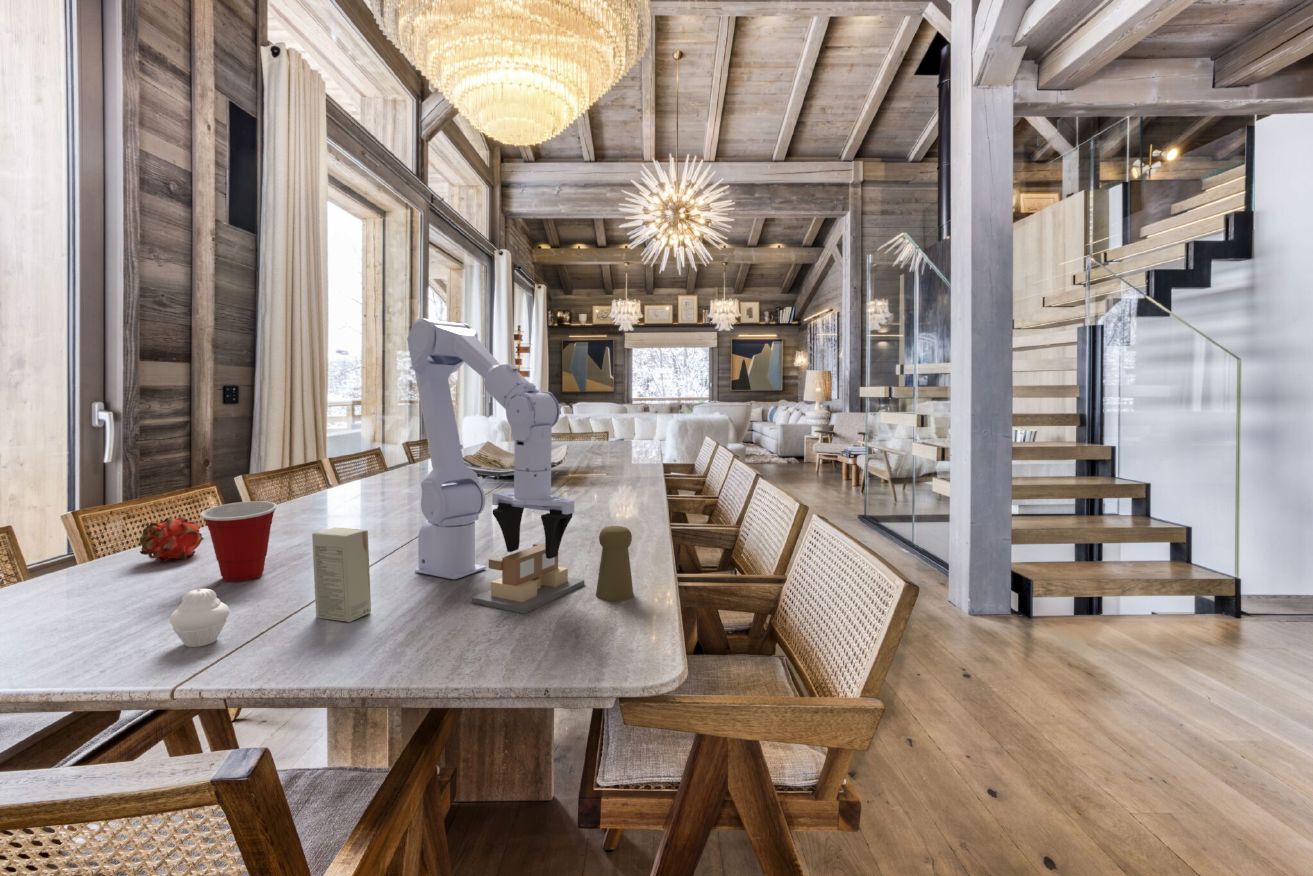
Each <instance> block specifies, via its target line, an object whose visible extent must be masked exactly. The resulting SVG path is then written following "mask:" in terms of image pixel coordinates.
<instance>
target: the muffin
mask: <svg viewBox="0 0 1313 876" xmlns="http://www.w3.org/2000/svg"><path fill="white" fill-rule="evenodd" d="M229 615H230V608H229V606H228V605H227V604H226V603H224V602H222V601H221V600H220V598H217V593H216V592H215V591H214V590H213V589H209V588H200V587H199V588H196V589H192V590H190V591H188V592H187V593H185V594H184V595H183V596H182V598H181V603H180V604H179V605H178V607H177V608H176V609H175V610H174V611H173V612H172V613H171V615H170V616H169V623H170V624H171V626H172V630H173V631H174V633H175V634H176V636H178V638H179V640H180V641H182V643H183V644H184V646H186V647H188V648H200V647H205V646H209V645H211V644H213V643H215V642H216V641H217V640H218V637H219V636H220V634H221V632H222V630H223V628H224V626H225V624H226V623H227V618H228V617H229Z"/></svg>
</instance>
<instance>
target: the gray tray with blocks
mask: <svg viewBox="0 0 1313 876" xmlns="http://www.w3.org/2000/svg"><path fill="white" fill-rule="evenodd" d="M568 572H569V568H568V567H562V566H558V569H555V570H553V571H551V572H548V573H546V574H543V575H541V576H539V577H536V578H534V579H531V580H529V581H527V582H524V583H522V584H520V585H517V586H513V585H508V584H503V583H502V577H500V578H497V579H494V580H492V581H490V589H489V590H487V591H484V592H482V593H480V594H477V595H475V596H472V597H471V603H472V604H477V605H482V606H487V607H491V608H496V609H501V610H503V611H504V610H505V611H509V612H510V611H511V612H514V613H519V614H523V615H525V614H527V613H529V612H531V611H534V610H535V609H538V608H540V607H542V606H544V605H546V604H548V603H550V602H552V601H554V600H556V599H558V598H560V597H562V596H564V595H566V594H568V593H570V592H572V591H574V590H576V589H578V588H580V587H583V586H584V585H585V579H581V578H576V577H575V578H574V577H569V576H568V575H569V573H568Z"/></svg>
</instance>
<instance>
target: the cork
mask: <svg viewBox="0 0 1313 876" xmlns="http://www.w3.org/2000/svg"><path fill="white" fill-rule="evenodd" d="M632 537H633V535H632V532H631V530H630V529H629V528H628V527H625V526H620V525H610V526H605V527H604V528H602V529H601V531H600V532H599V536H598V540H599V544H600V546H601V548H602V549H601V555H600V562H599V570H598V577H597V583H596V589H595V590H596V591H595V597H596V598H597V599H600V600H603V601H608V602H620V601H627V600H630V599H632V598H633V597H634V587H633V579H632V571H631V570H632V569H631V562H630V561H631V560H630V552H629V547H630V546H631V544H632V541H633V538H632Z"/></svg>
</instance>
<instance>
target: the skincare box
mask: <svg viewBox="0 0 1313 876" xmlns="http://www.w3.org/2000/svg"><path fill="white" fill-rule="evenodd" d="M311 536H312V554H313V555H312V556H313V557H312V558H313V559H312V560H313V575H314V576H313V577H314V578H313V579H314V599H315V600H314V601H315V603H314V605H315V617H316V618H319V619H324V620H325V619H327V620H333V621H339V622H340V621H341V622H346V623H347V622H348V623H350V622H352V621H354V620H357V619H359V618H361V617H364V616H366V615H368V614H370V613H372V607H371V606H372V601H371V599H372V597H371V576H370V575H371V574H370V556H369V555H370V553H369V551H370V550H369V530H367V529H359V528H357V529H356V528H355V529H354V528H347V527H346V528H345V527H332V528H327V529H324V530H320V531H316V532H312V533H311Z"/></svg>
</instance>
